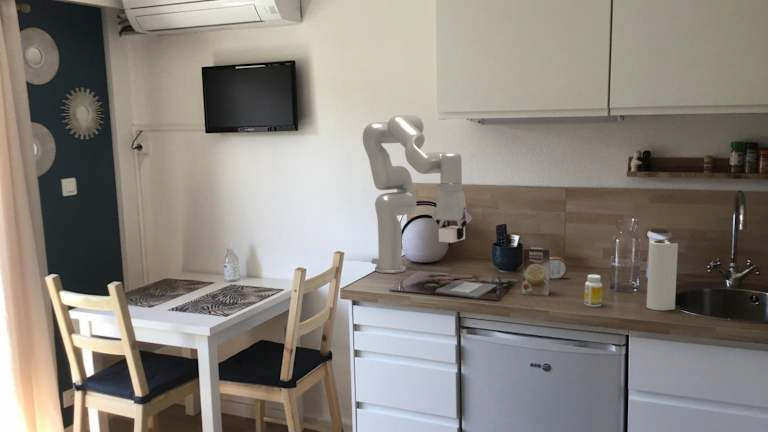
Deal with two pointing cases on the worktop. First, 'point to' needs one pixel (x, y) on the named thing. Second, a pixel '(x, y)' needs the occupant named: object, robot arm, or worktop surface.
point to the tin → (557, 268)
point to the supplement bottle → (593, 291)
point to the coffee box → (536, 270)
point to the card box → (449, 234)
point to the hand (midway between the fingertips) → (452, 237)
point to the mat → (466, 288)
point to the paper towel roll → (662, 275)
